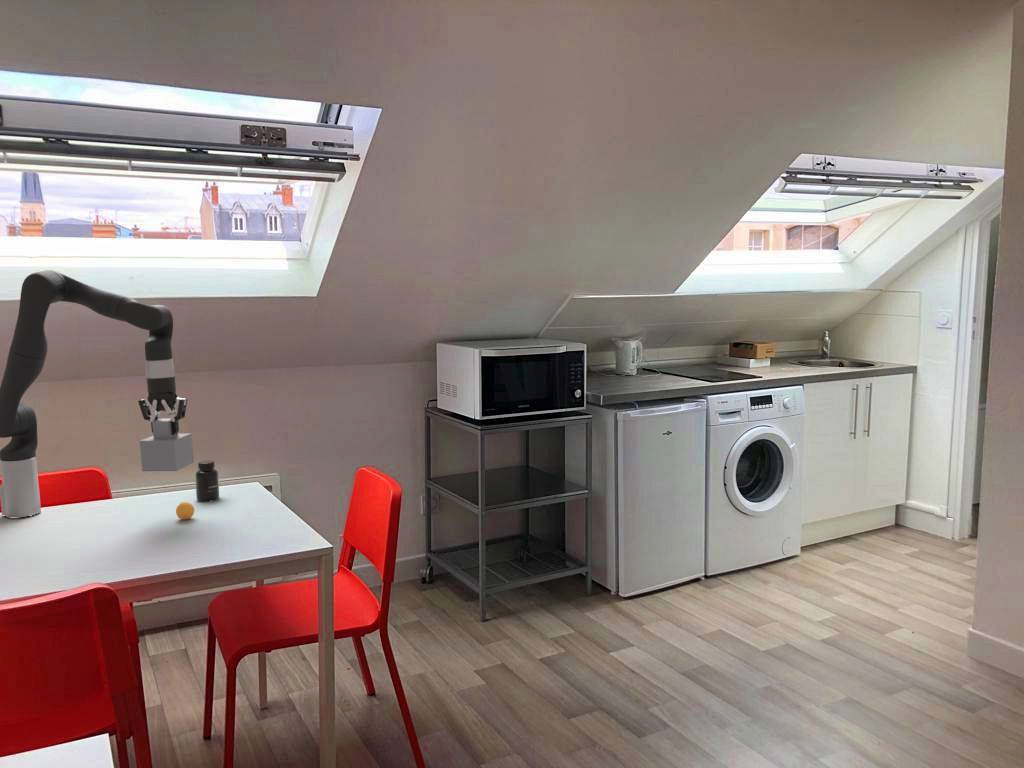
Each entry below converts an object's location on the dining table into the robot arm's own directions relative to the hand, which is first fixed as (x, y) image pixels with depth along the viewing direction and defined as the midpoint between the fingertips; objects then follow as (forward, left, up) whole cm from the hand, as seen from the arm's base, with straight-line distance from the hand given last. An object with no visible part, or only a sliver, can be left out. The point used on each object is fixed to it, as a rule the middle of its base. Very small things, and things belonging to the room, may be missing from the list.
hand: (165, 434), depth 241 cm
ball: (+4, 0, -23) cm, 23 cm away
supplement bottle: (+1, +21, -25) cm, 33 cm away
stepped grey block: (0, 0, -10) cm, 10 cm away
